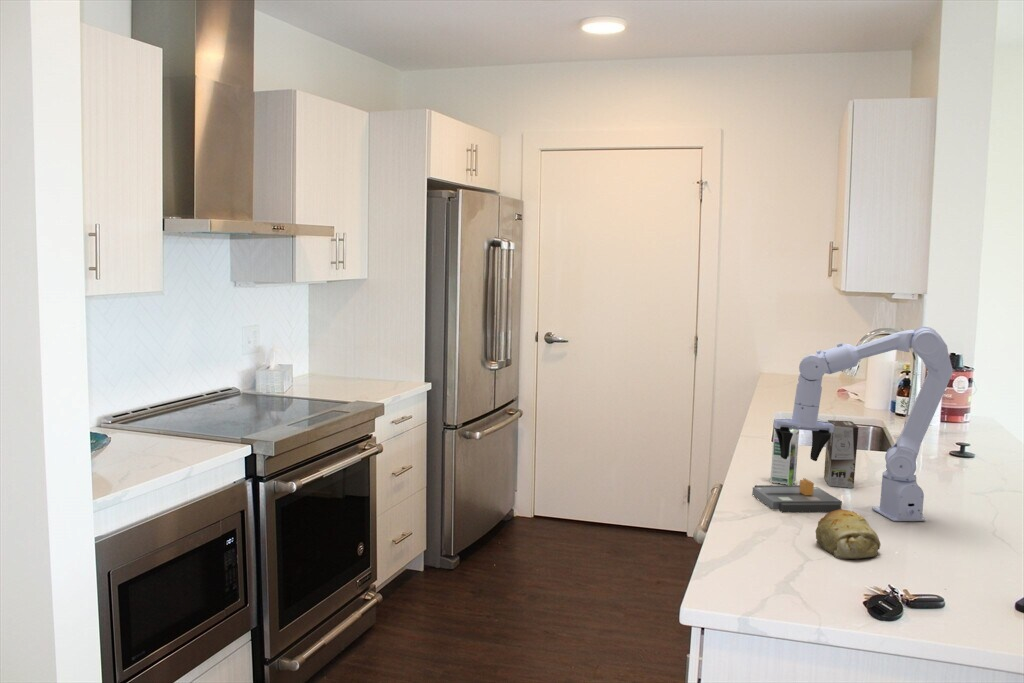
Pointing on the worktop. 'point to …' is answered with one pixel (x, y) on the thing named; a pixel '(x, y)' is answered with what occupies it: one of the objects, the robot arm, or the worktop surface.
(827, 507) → the dark grey flat bars
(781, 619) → the worktop surface
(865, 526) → the pastry
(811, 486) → the knob
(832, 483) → the coffee box
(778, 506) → the panel
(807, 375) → the robot arm
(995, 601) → the worktop surface
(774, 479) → the syrup box
